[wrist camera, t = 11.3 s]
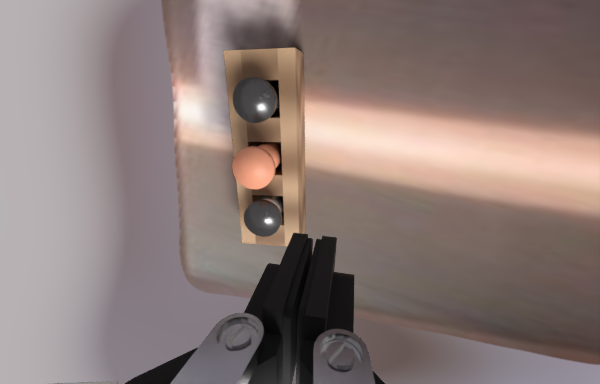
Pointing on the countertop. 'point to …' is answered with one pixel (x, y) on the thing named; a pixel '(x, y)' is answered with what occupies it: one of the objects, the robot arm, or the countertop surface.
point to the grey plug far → (264, 215)
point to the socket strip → (273, 135)
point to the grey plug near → (256, 99)
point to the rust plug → (257, 164)
